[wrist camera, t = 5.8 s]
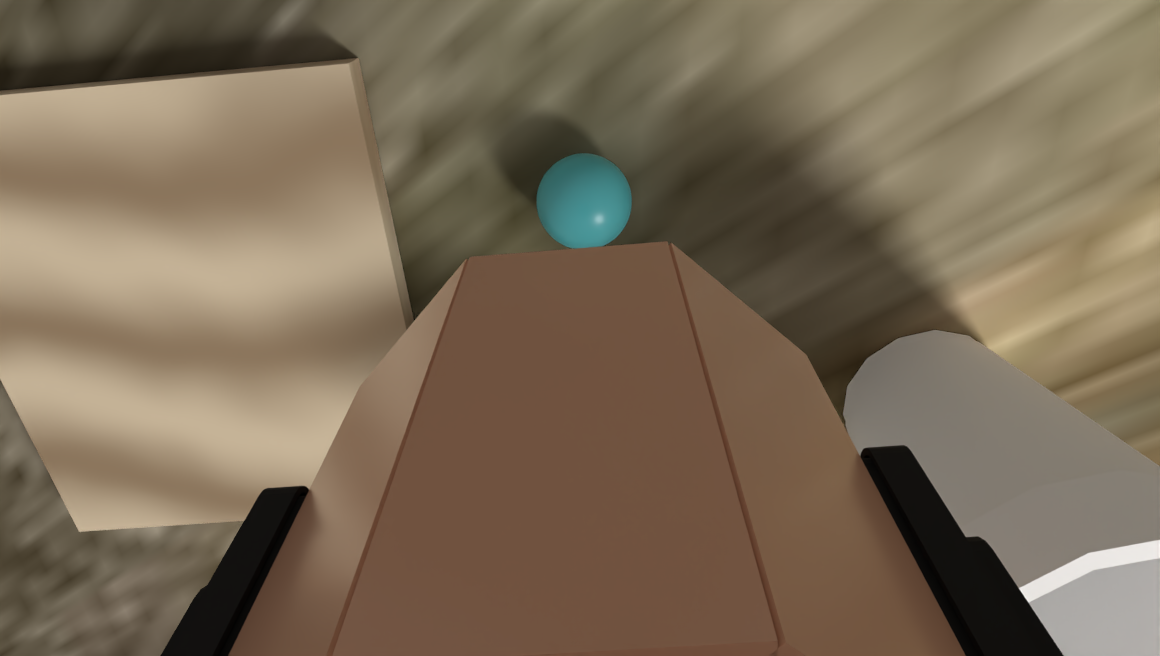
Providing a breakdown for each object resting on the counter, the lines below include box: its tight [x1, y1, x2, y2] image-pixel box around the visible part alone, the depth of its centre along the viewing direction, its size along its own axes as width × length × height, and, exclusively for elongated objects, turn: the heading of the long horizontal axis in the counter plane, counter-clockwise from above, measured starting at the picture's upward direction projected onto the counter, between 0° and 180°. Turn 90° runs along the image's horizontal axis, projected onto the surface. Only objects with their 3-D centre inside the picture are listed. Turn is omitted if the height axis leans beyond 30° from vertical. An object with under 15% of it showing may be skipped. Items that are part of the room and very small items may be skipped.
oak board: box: [0, 58, 414, 532], centre depth 29 cm, size 18×16×1 cm
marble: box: [537, 153, 632, 249], centre depth 25 cm, size 3×3×3 cm
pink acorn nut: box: [228, 241, 966, 656], centre depth 10 cm, size 7×7×8 cm
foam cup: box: [843, 330, 1160, 656], centre depth 25 cm, size 10×9×13 cm
